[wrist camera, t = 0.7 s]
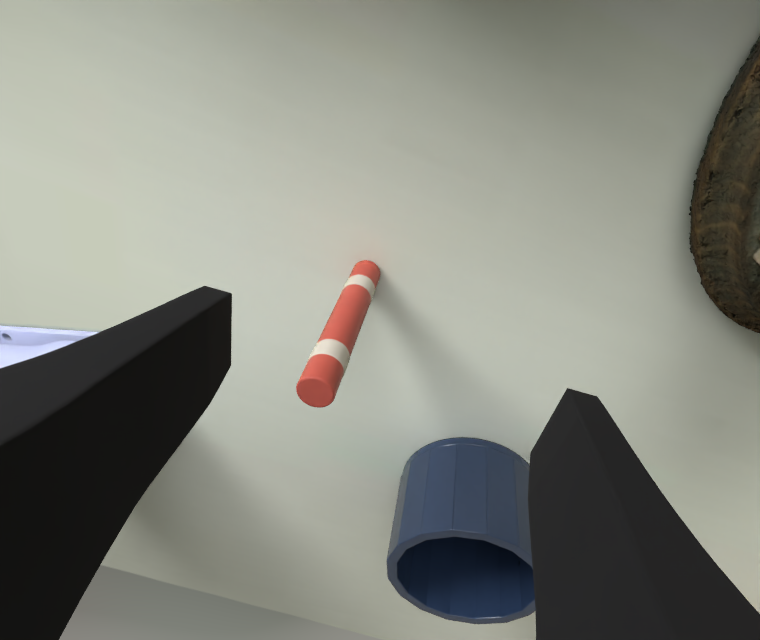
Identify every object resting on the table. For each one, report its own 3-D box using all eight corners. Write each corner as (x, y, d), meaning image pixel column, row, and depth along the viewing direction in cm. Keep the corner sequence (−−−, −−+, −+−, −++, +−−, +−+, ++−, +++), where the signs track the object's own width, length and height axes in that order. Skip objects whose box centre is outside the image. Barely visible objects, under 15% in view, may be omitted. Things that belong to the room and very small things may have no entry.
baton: (353, 284, 22) (297, 406, 15) (352, 258, 21) (292, 375, 15) (381, 285, 22) (336, 410, 15) (380, 259, 21) (333, 378, 14)
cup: (403, 518, 30) (389, 611, 26) (401, 430, 26) (383, 521, 22) (529, 534, 29) (538, 634, 24) (546, 444, 25) (560, 543, 20)
